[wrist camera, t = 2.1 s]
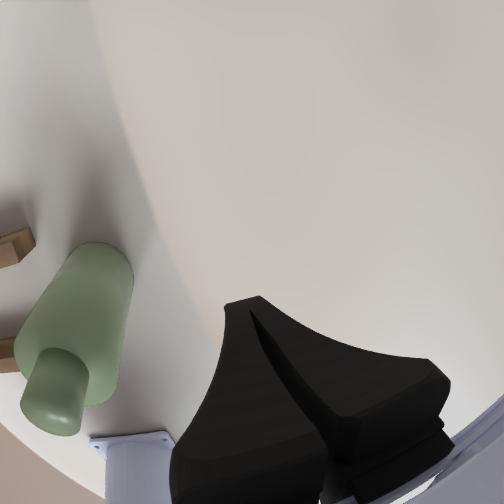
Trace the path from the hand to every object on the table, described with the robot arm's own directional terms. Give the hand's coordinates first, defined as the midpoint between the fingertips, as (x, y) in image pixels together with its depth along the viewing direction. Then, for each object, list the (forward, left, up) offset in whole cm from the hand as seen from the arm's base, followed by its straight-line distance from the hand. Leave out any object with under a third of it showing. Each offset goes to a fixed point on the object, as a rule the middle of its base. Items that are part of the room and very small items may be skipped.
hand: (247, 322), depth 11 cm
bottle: (0, +7, -7) cm, 10 cm away
